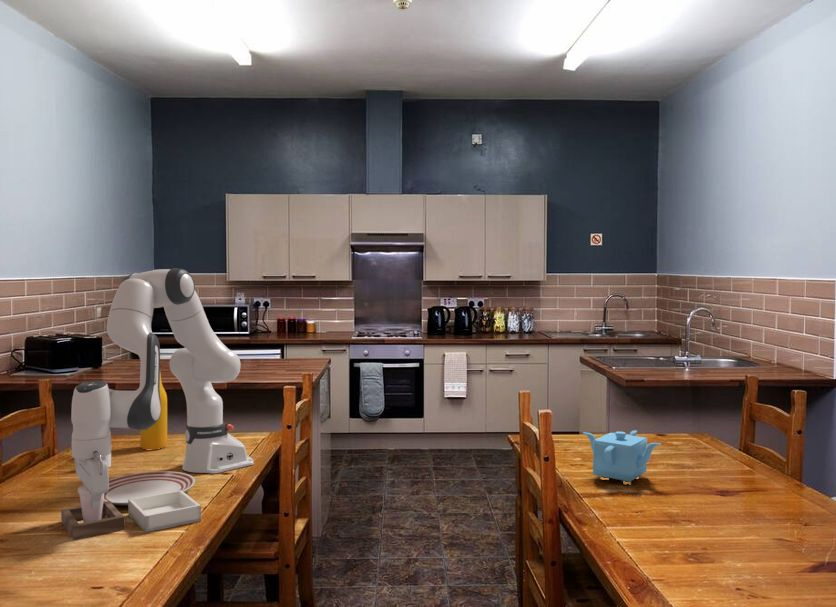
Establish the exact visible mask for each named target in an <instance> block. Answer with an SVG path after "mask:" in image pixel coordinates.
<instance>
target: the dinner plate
mask: <svg viewBox="0 0 836 607" xmlns="http://www.w3.org/2000/svg"><path fill="white" fill-rule="evenodd" d="M195 483H196V479H195V477H194V476H192V475H191V474H187V473H185V472H180V471H169V470H167V471H165V470H160V471H159V470H157V471H156V470H154V471H143V472H136V473H135V472H134V473H130V474H126V475H125V474H124V475H122V476H121V475H120V476H117V477H114V478H111V479H110V478H109V490H108V492H107V493H104V500H103V502H107V501H110V502H111V503H112V504H113V505H117V506H125V507H128V499H133V498H139V497H145V496H150V495H156V494H161V493H167V492H172V491H178V490H182V491H183V492H184V493H186V492H188V491H189V490H191V488H192V487H193V486H194V485H195Z"/></svg>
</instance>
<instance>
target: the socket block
mask: <svg viewBox="0 0 836 607" xmlns="http://www.w3.org/2000/svg"><path fill="white" fill-rule="evenodd" d="M60 512H61V514H60V517H61V520H60V521H62V522H61V523H62V524H63V526H64V528H65V530H66V531H67V533H68V534H69V535H70V537H71V539H72V541H73V540H77V538H79V539H83V537H84V538H88V536H89V537H93V535H94V536H98V534H99V535H103V534H108V533H112V532H118V531H123V530H125V516H124V515H123V514H122V513H121V512H120V511H119V509H118V508H117V507H116V506H115V504H112V503H111V502H110V501H107V502H103V508H102V516H105V517H106V518H103V519H102V518H101V520H96V521H91V522H86V523H84V522H81V523H79V522H78V521H79V520H83V515H82V508H81V505H80V506H74V507H69V508H63V509H61V511H60ZM122 529H123V530H122Z"/></svg>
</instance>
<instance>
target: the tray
mask: <svg viewBox="0 0 836 607" xmlns="http://www.w3.org/2000/svg"><path fill="white" fill-rule="evenodd" d="M201 505H202V504H200V503H199V502H197V501H196V500H195V499H193V498H192V497H191V496H190V495H188V494H187V493H186V492H183V491H182V490H178V491H172V492H167V493H161V494H156V495H150V496H145V497H139V498H133V499H128V506H127V507H128V508H127V509H128V514H129V515H130V516H131V517H132V518H131V517H130V516H129V515H128V514H127V515H128V516H129V517H130V518H131V519H132V520H133V521H134V522H135V524H136V525H137V526H139V528H140V527H141V528H142V529H143V530H144V531H143V530H142V529H141V528H140V529H141V530H142V531H143V532H144V533H145V532H146V533H149V532H150V531H151V532H154V531H155V530H156V531H160V530H164V529H169V528H174V527H179V526H183V525H190V524H193V523H198V522H201V521H202V506H201Z"/></svg>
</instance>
